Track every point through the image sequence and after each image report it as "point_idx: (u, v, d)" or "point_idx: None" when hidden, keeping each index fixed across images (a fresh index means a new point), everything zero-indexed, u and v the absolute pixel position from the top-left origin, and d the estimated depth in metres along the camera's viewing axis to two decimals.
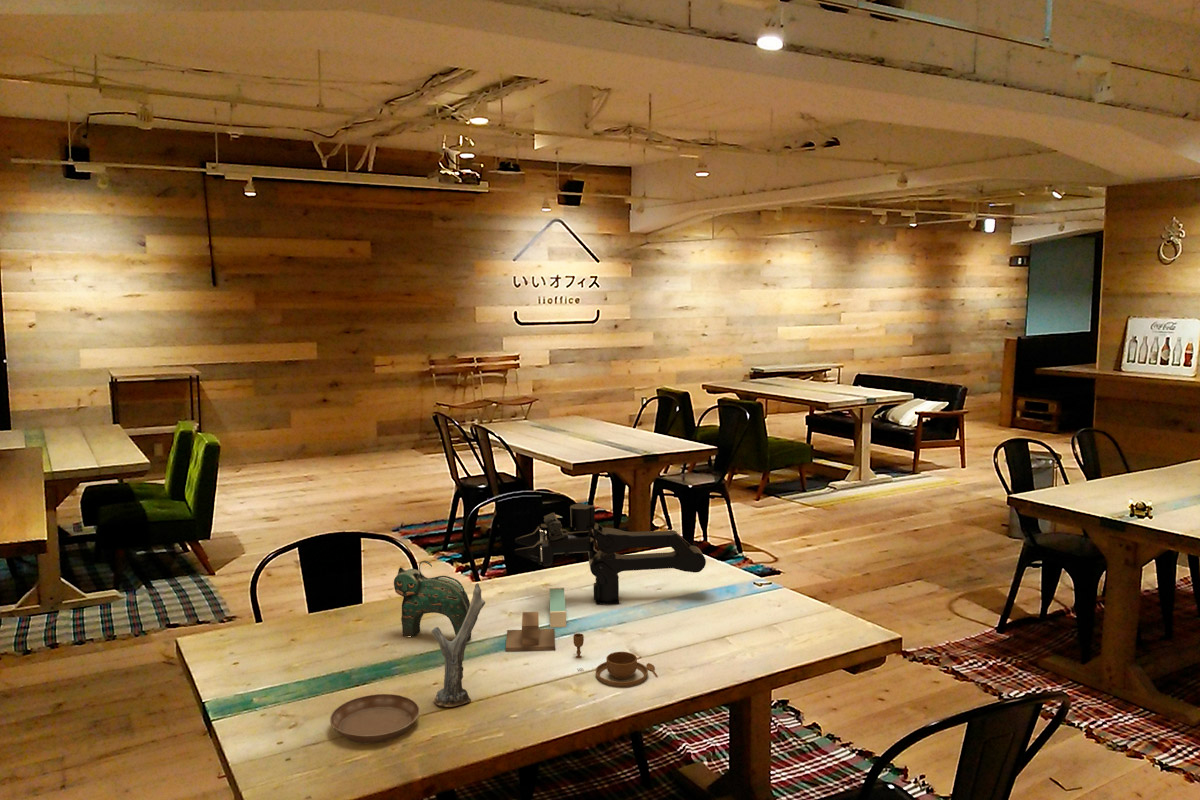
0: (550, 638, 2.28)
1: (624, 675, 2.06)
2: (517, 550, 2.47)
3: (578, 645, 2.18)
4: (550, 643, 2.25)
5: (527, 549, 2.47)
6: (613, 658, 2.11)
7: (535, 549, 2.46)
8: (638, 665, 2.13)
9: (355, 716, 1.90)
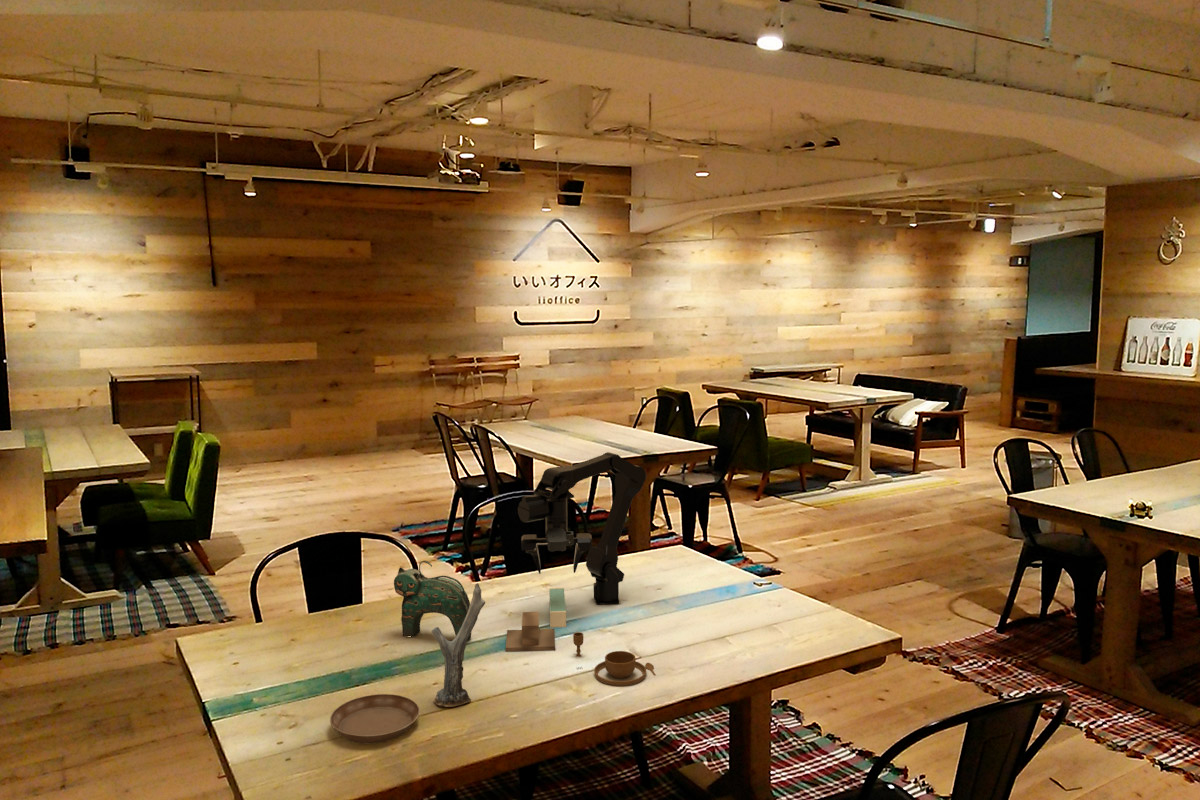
0: (550, 638, 2.28)
1: (622, 674, 2.06)
2: (575, 570, 2.45)
3: (578, 644, 2.19)
4: (550, 643, 2.25)
5: (578, 560, 2.44)
6: (612, 657, 2.12)
7: None
8: (637, 664, 2.13)
9: (355, 716, 1.90)
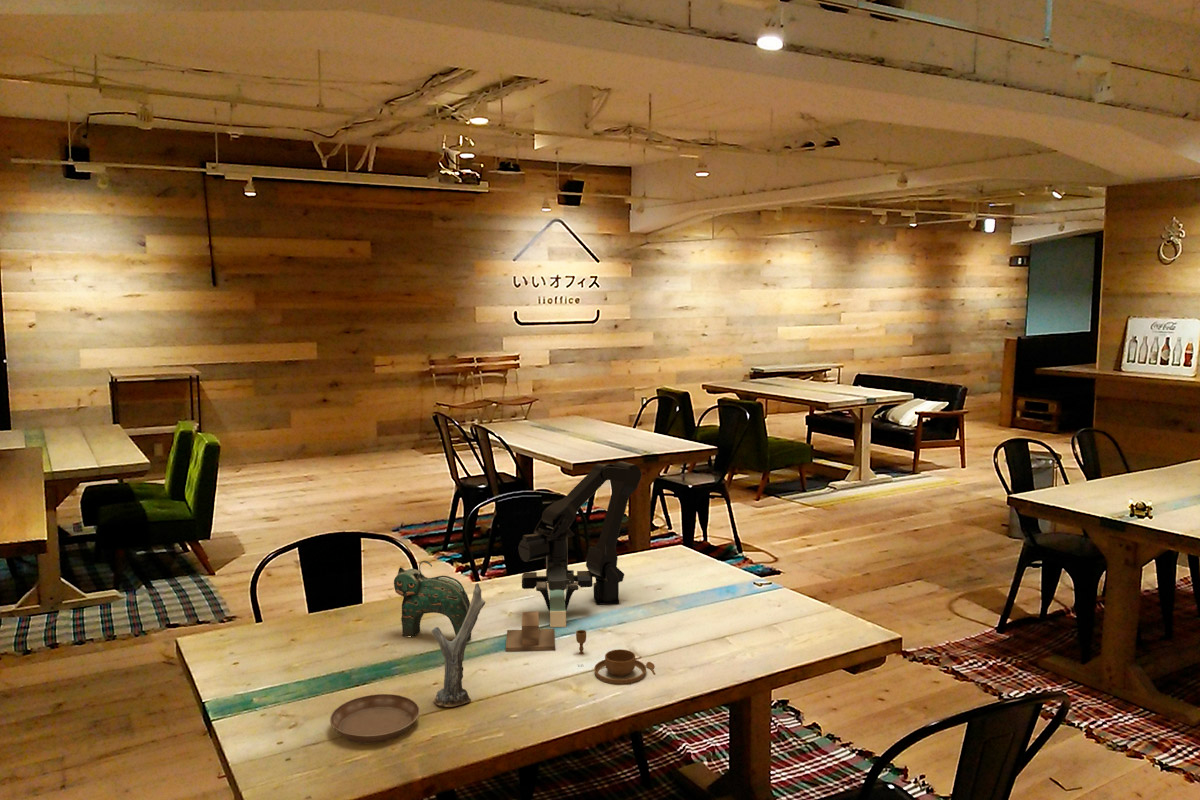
0: (550, 638, 2.28)
1: (621, 673, 2.07)
2: (566, 607, 2.46)
3: (580, 641, 2.20)
4: (550, 643, 2.25)
5: None
6: (613, 655, 2.13)
7: None
8: (638, 663, 2.14)
9: (355, 716, 1.90)
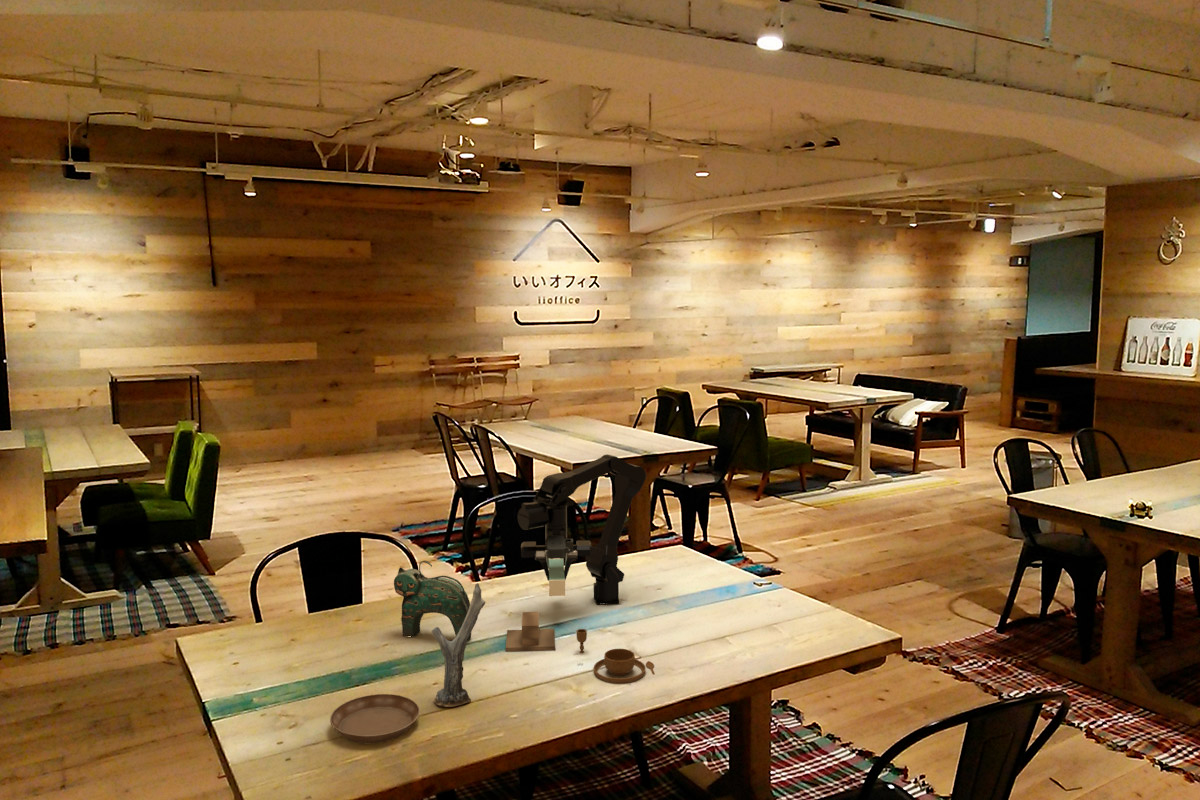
0: (550, 638, 2.28)
1: (620, 672, 2.08)
2: None
3: (581, 640, 2.21)
4: (550, 643, 2.25)
5: None
6: (612, 655, 2.13)
7: None
8: (637, 663, 2.14)
9: (355, 716, 1.90)
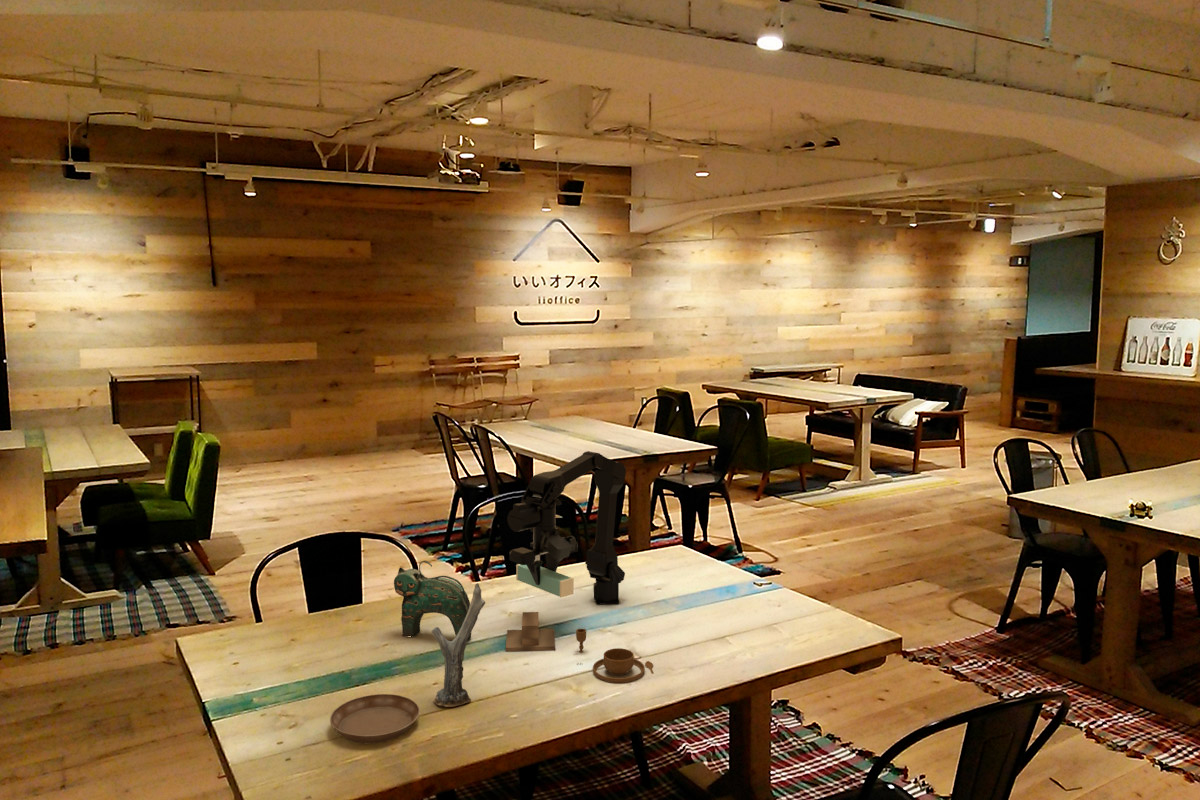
0: (550, 638, 2.28)
1: (619, 671, 2.08)
2: None
3: (580, 640, 2.21)
4: (550, 643, 2.25)
5: None
6: (611, 654, 2.14)
7: None
8: (637, 662, 2.15)
9: (355, 716, 1.90)
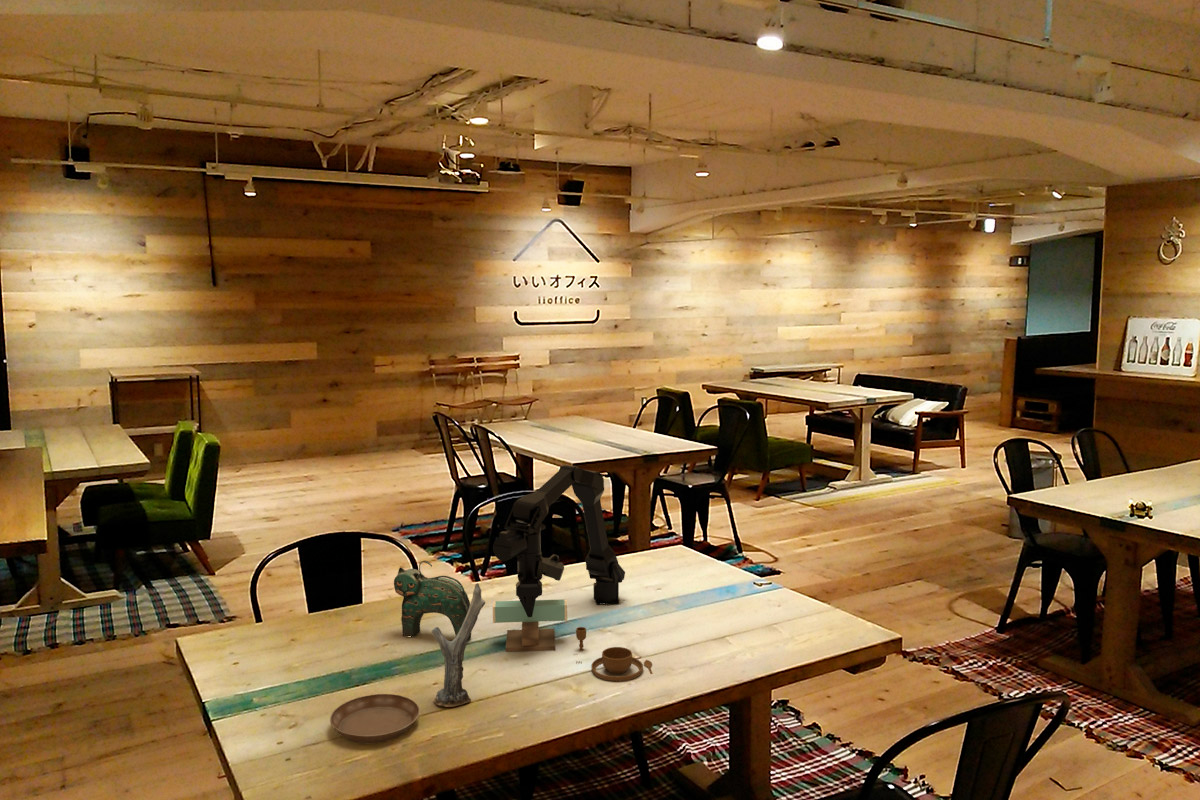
0: (550, 638, 2.28)
1: (617, 670, 2.09)
2: None
3: (580, 638, 2.22)
4: (550, 643, 2.25)
5: None
6: (610, 653, 2.14)
7: None
8: (636, 661, 2.15)
9: (355, 716, 1.90)
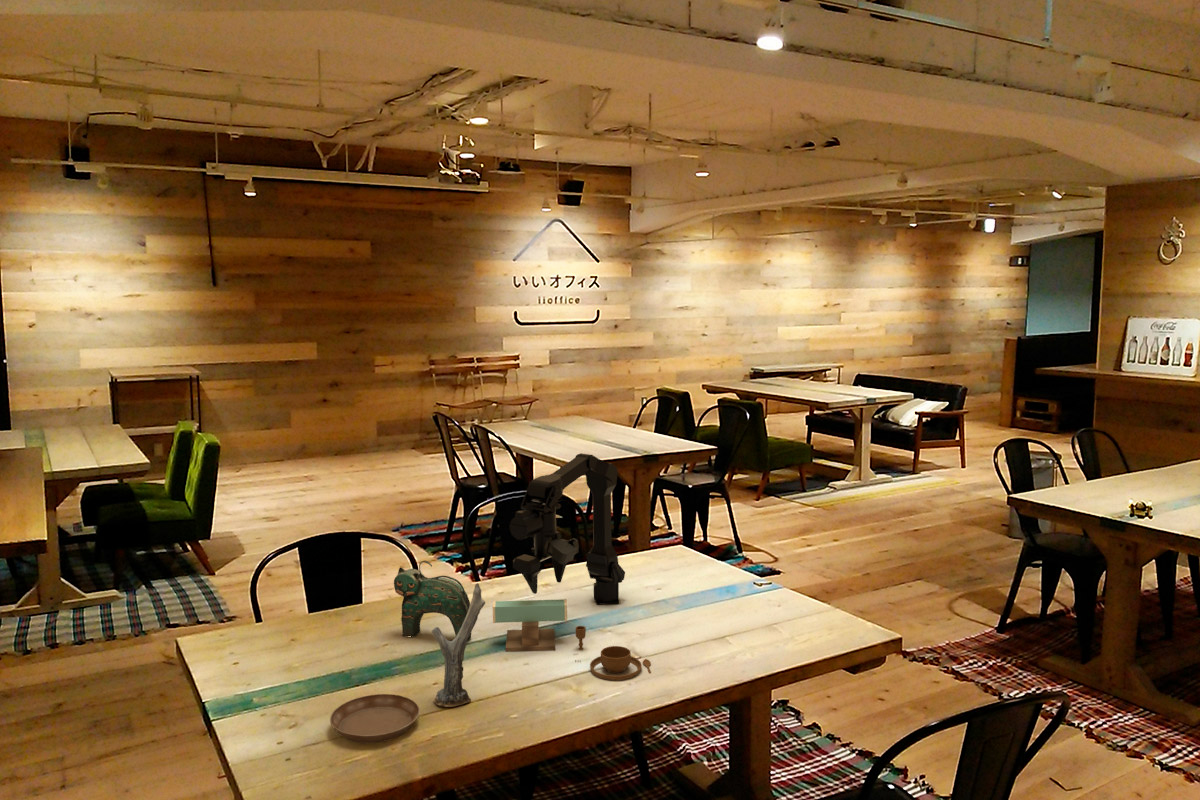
0: (550, 638, 2.28)
1: (616, 669, 2.09)
2: None
3: (579, 637, 2.23)
4: (550, 643, 2.25)
5: None
6: (609, 652, 2.15)
7: None
8: (634, 660, 2.16)
9: (355, 716, 1.90)
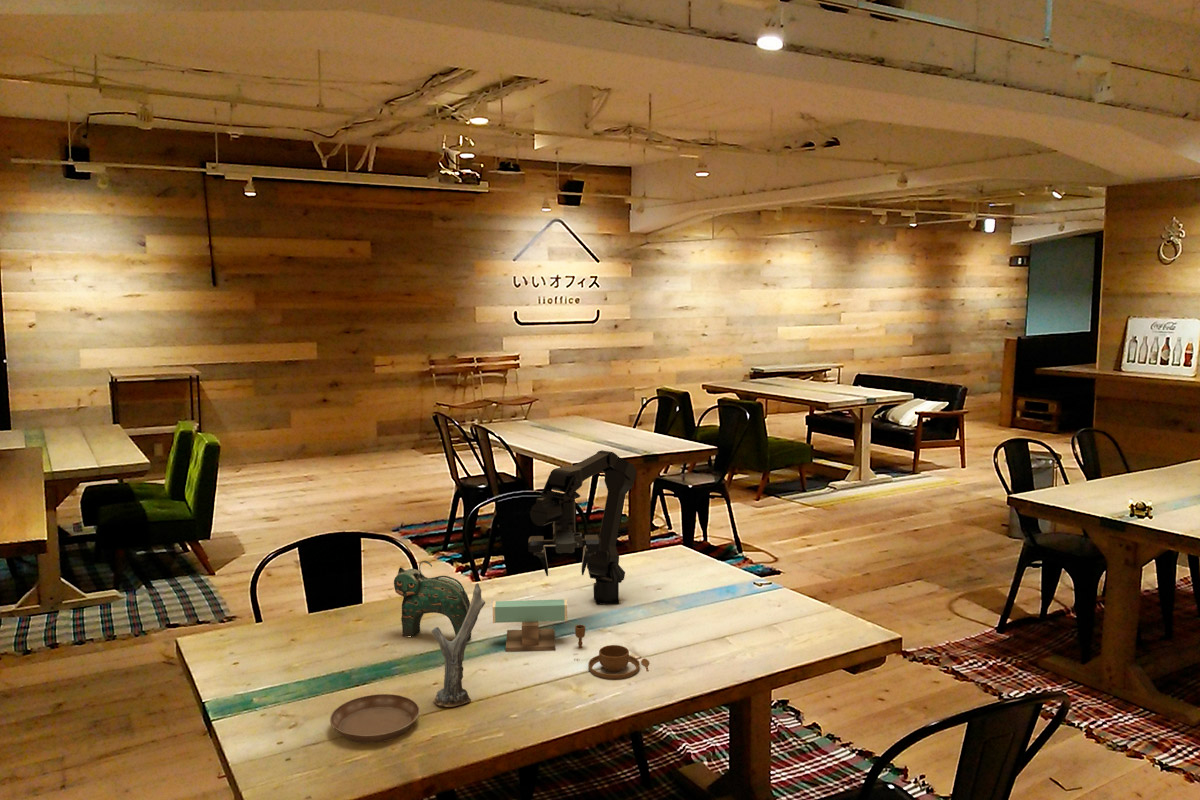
0: (550, 638, 2.28)
1: (614, 668, 2.10)
2: (583, 572, 2.40)
3: (579, 636, 2.23)
4: (550, 643, 2.25)
5: (587, 562, 2.39)
6: (608, 651, 2.16)
7: None
8: (633, 660, 2.16)
9: (355, 716, 1.90)
